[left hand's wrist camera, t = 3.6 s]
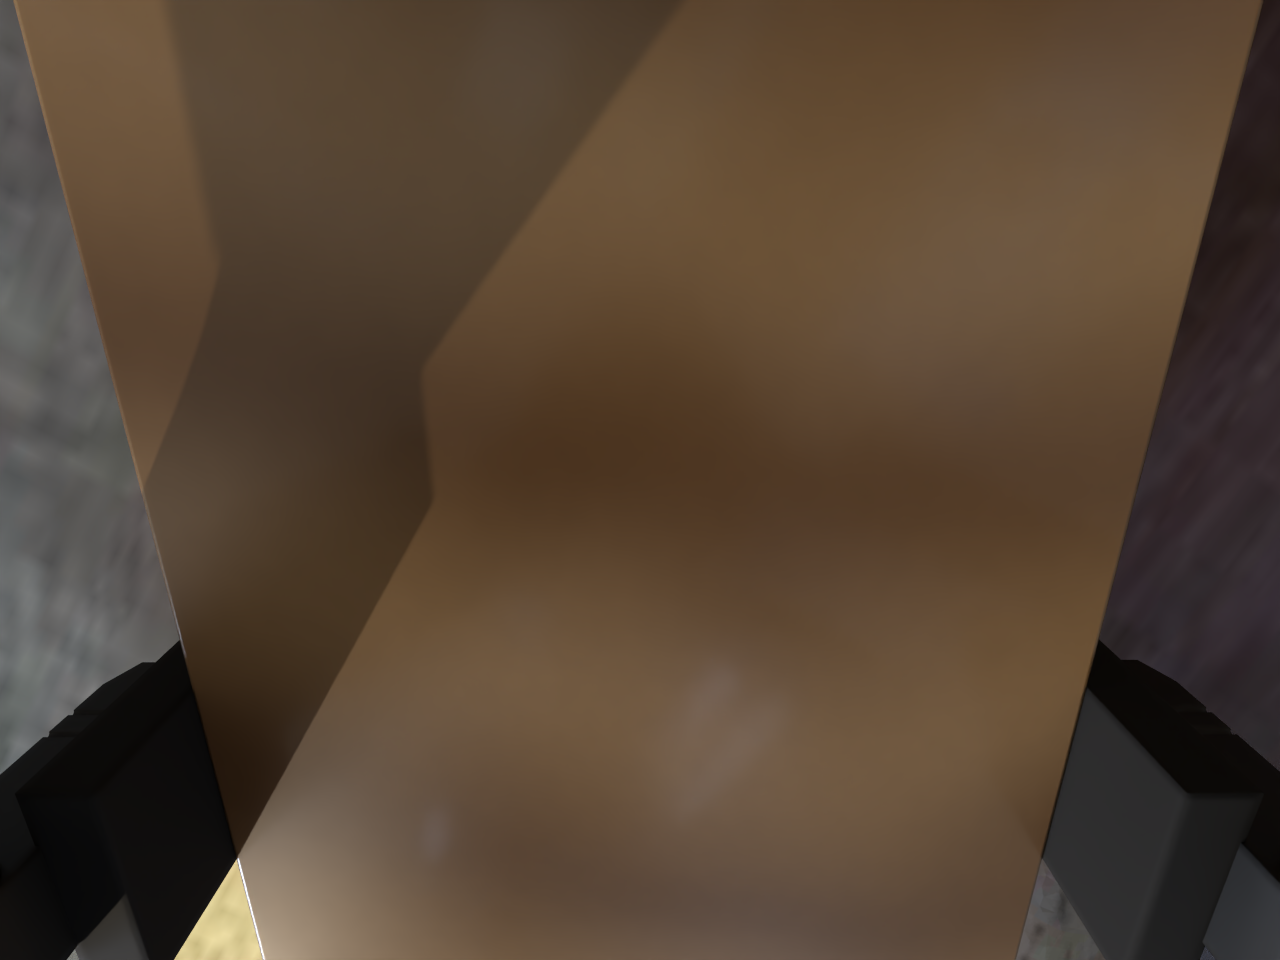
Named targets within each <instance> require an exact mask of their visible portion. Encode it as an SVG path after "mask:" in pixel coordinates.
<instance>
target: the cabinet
mask: <svg viewBox="0 0 1280 960" xmlns="http://www.w3.org/2000/svg"><path fill="white" fill-rule="evenodd" d="M13 1H14V4H15V8H16V12H17V16H18V20H19V24H20V28H21V31H22V35H23V39H24V43H25V47H26V51H27V54H28V58H29V62H30V66H31V70H32V74H33V78H34V81H35V85H36V89H37V93H38V97H39V101H40V104H41V108H42V112H43V116H44V120H45V124H46V128H47V131H48V135H49V139H50V143H51V147H52V151H53V154H54V158H55V162H56V166H57V170H58V174H59V177H60V181H61V185H62V189H63V193H64V197H65V201H66V204H67V208H68V212H69V216H70V220H71V224H72V227H73V231H74V235H75V239H76V243H77V247H78V251H79V254H80V258H81V262H82V266H83V270H84V274H85V277H86V281H87V285H88V289H89V293H90V297H91V301H92V304H93V308H94V312H95V316H96V320H97V324H98V327H99V331H100V335H101V339H102V343H103V347H104V351H105V354H106V358H107V362H108V366H109V370H110V374H111V377H112V381H113V385H114V389H115V393H116V397H117V401H118V404H119V408H120V412H121V416H122V420H123V424H124V427H125V431H126V435H127V439H128V443H129V447H130V451H131V454H132V458H133V462H134V466H135V470H136V474H137V477H138V481H139V485H140V489H141V493H142V497H143V500H144V504H145V508H146V512H147V516H148V520H149V524H150V527H151V531H152V535H153V539H154V543H155V547H156V550H157V554H158V558H159V562H160V566H161V570H162V574H163V577H164V581H165V585H166V589H167V593H168V597H169V600H170V604H171V608H172V612H173V616H174V620H175V624H176V627H177V631H178V635H179V639H180V643H181V647H182V650H183V654H184V658H185V662H186V666H187V670H188V674H189V677H190V681H191V685H192V689H193V693H194V697H195V700H196V704H197V708H198V712H199V716H200V720H201V724H202V727H203V731H204V735H205V739H206V743H207V747H208V750H209V754H210V758H211V762H212V766H213V770H214V774H215V777H216V781H217V785H218V789H219V793H220V797H221V800H222V804H223V808H224V812H225V816H226V820H227V824H228V827H229V831H230V835H231V839H232V843H233V847H234V850H235V854H236V858H237V862H238V866H239V870H240V873H241V877H242V881H243V885H244V889H245V893H246V897H247V900H248V904H249V908H250V912H251V916H252V920H253V923H254V927H255V931H256V935H257V939H258V943H259V947H260V950H261V954H262V958H263V960H1016V957H1017V954H1018V950H1019V946H1020V942H1021V938H1022V934H1023V930H1024V926H1025V923H1026V919H1027V915H1028V911H1029V907H1030V903H1031V899H1032V895H1033V892H1034V888H1035V884H1036V880H1037V876H1038V872H1039V868H1040V864H1041V861H1042V857H1043V853H1044V849H1045V845H1046V841H1047V837H1048V834H1049V830H1050V826H1051V822H1052V818H1053V814H1054V810H1055V806H1056V803H1057V799H1058V795H1059V791H1060V787H1061V783H1062V779H1063V775H1064V772H1065V768H1066V764H1067V760H1068V756H1069V752H1070V748H1071V744H1072V741H1073V737H1074V733H1075V729H1076V725H1077V721H1078V717H1079V713H1080V710H1081V706H1082V702H1083V698H1084V694H1085V690H1086V686H1087V683H1088V679H1089V675H1090V671H1091V667H1092V663H1093V659H1094V655H1095V652H1096V648H1097V644H1098V640H1099V636H1100V632H1101V628H1102V624H1103V621H1104V617H1105V613H1106V609H1107V605H1108V601H1109V597H1110V593H1111V590H1112V586H1113V582H1114V578H1115V574H1116V570H1117V566H1118V562H1119V559H1120V555H1121V551H1122V547H1123V543H1124V539H1125V535H1126V531H1127V528H1128V524H1129V520H1130V516H1131V512H1132V508H1133V504H1134V501H1135V497H1136V493H1137V489H1138V485H1139V481H1140V477H1141V473H1142V470H1143V466H1144V462H1145V458H1146V454H1147V450H1148V446H1149V442H1150V439H1151V435H1152V431H1153V427H1154V423H1155V419H1156V415H1157V411H1158V408H1159V404H1160V400H1161V396H1162V392H1163V388H1164V384H1165V380H1166V377H1167V373H1168V369H1169V365H1170V361H1171V357H1172V353H1173V349H1174V346H1175V342H1176V338H1177V334H1178V330H1179V326H1180V322H1181V319H1182V315H1183V311H1184V307H1185V303H1186V299H1187V295H1188V291H1189V288H1190V284H1191V280H1192V276H1193V272H1194V268H1195V264H1196V260H1197V257H1198V253H1199V249H1200V245H1201V241H1202V237H1203V233H1204V229H1205V226H1206V222H1207V218H1208V214H1209V210H1210V206H1211V202H1212V198H1213V195H1214V191H1215V187H1216V183H1217V179H1218V175H1219V171H1220V168H1221V164H1222V160H1223V156H1224V152H1225V148H1226V144H1227V140H1228V137H1229V133H1230V129H1231V125H1232V121H1233V117H1234V113H1235V109H1236V106H1237V102H1238V98H1239V94H1240V90H1241V86H1242V82H1243V78H1244V75H1245V71H1246V67H1247V63H1248V59H1249V55H1250V51H1251V47H1252V44H1253V40H1254V36H1255V32H1256V28H1257V24H1258V20H1259V16H1260V13H1261V9H1262V5H1263V1H1264V0H13Z"/></svg>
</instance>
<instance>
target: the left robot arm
mask: <svg viewBox="0 0 1280 960" xmlns="http://www.w3.org/2000/svg"><path fill="white" fill-rule="evenodd" d="M49 733H50V734H49V736H48V737H43V738H42V739H41V740H39V741H38V742H37V743H36V744H35V745H34V746H33V747H31V748H30V749H29V750H28V751H27V752H26V753H25V754H23V755H22V756H21V757H20V758H19V759H18V760H17V761H16V762H14V763H13V764H12V765H11V766H10V767H9V768H8V769H6V770H5V771H4V772H3V773H2V774H1V775H0V960H67V958H68V957H69V956H70V955H71V953H72V952H73V951H74V949H75V950H76V953H77V955H78V958H79V960H174V959H175V957H176V955H177V954H178V952H179V951H180V949H181V947H182V946H183V944H184V943H185V941H186V939H187V938H188V936H189V935H190V933H191V931H192V930H193V928H194V927H195V925H196V923H197V922H198V920H199V919H200V917H201V915H202V914H203V912H204V911H205V909H206V907H207V906H208V904H209V902H210V901H211V899H212V898H213V896H214V894H215V893H216V891H217V890H218V888H219V886H220V885H221V883H222V882H223V880H224V878H225V877H226V875H227V874H228V872H229V870H230V869H231V867H232V866H233V864H234V862H235V861H236V859H237V858H236V854H235V850H234V847H233V843H232V839H231V835H230V831H229V827H228V824H227V820H226V816H225V812H224V808H223V804H222V800H221V797H220V793H219V789H218V785H217V781H216V777H215V774H214V770H213V766H212V762H211V758H210V754H209V750H208V747H207V743H206V739H205V735H204V731H203V727H202V724H201V720H200V716H199V712H198V708H197V704H196V700H195V697H194V693H193V689H192V685H191V681H190V677H189V674H188V670H187V666H186V662H185V658H184V654H183V650H182V647H181V643H180V640H179V641H178V642H177V643H176V644H175V645H174V646H173V647H172V648H171V649H170V650H168V651H167V652H166V653H165V654H164V655H163V656H162V657H161V658H160V659H159V660H158V661H157V662H142V663H140V664H139V665H137V666H135V667H133V668H132V669H130V670H128V671H126V672H124V673H123V674H121V675H119V676H117V677H115V678H114V679H112V680H110V681H108V682H107V683H105V684H103V685H102V686H101V687H100V688H98V689H97V690H96V691H95V692H94V693H93V694H92V695H91V696H89V697H88V698H87V699H86V700H85V701H84V702H83V703H81V704H80V705H79V706H78V707H77V708H76V709H75V710H74V714H73V715H68V716H67V717H66V718H64V719H63V720H62V721H61V722H60V723H59V724H58V725H56V726H55V727H54V728H53V729H52V730H51V731H50V732H49ZM1042 859H1043V860H1044V862H1045V864H1046V865H1047V867H1048V868H1049V870H1050V872H1051V873H1052V875H1053V876H1054V878H1055V880H1056V881H1057V883H1058V884H1059V886H1060V888H1061V889H1062V891H1063V892H1064V894H1065V896H1066V897H1067V899H1068V901H1069V902H1070V904H1071V905H1072V907H1073V909H1074V910H1075V912H1076V913H1077V915H1078V917H1079V918H1080V920H1081V921H1082V923H1083V925H1084V926H1085V928H1086V929H1087V931H1088V933H1089V934H1090V936H1091V937H1092V939H1093V941H1094V942H1095V944H1096V945H1097V947H1098V949H1099V950H1100V952H1101V953H1102V955H1103V957H1104V958H1105V960H1200V958H1201V955H1202V952H1203V950H1204V947H1205V946H1206V948H1207V949H1208V950H1209V952H1210V953H1211V954H1212V955H1213V957H1214V958H1215V959H1216V960H1280V772H1279V771H1278V770H1277V769H1276V768H1275V767H1274V766H1272V765H1271V764H1270V763H1269V762H1268V761H1267V760H1266V759H1264V758H1263V757H1262V756H1261V755H1260V754H1259V753H1258V752H1256V751H1255V750H1254V749H1253V748H1252V747H1251V746H1250V745H1248V744H1247V743H1246V742H1245V741H1244V740H1243V739H1242V738H1240V737H1239V736H1238V735H1237V734H1231V731H1230V728H1229V727H1228V726H1227V725H1226V724H1224V723H1223V722H1222V721H1221V720H1220V719H1219V718H1218V717H1216V716H1215V715H1214V714H1213V713H1212V712H1206V707H1205V706H1204V705H1203V704H1201V703H1200V702H1199V701H1198V700H1197V699H1196V698H1195V697H1193V696H1192V695H1191V694H1190V693H1189V692H1188V691H1187V690H1185V689H1184V688H1183V687H1182V686H1181V685H1180V684H1179V683H1177V682H1176V681H1174V680H1173V679H1171V678H1169V677H1167V676H1165V675H1164V674H1162V673H1160V672H1158V671H1156V670H1155V669H1153V668H1151V667H1149V666H1147V665H1146V664H1144V663H1142V662H1140V661H1138V660H1120V659H1119V658H1118V657H1117V656H1116V655H1115V654H1114V653H1113V652H1112V651H1111V650H1110V649H1109V648H1107V647H1106V646H1105V645H1104V644H1103V643H1102V642H1101V641H1100V640H1098V644H1097V648H1096V652H1095V655H1094V659H1093V663H1092V667H1091V671H1090V675H1089V679H1088V683H1087V686H1086V690H1085V694H1084V698H1083V702H1082V706H1081V710H1080V713H1079V717H1078V721H1077V725H1076V729H1075V733H1074V737H1073V741H1072V744H1071V748H1070V752H1069V756H1068V760H1067V764H1066V768H1065V772H1064V775H1063V779H1062V783H1061V787H1060V791H1059V795H1058V799H1057V803H1056V806H1055V810H1054V814H1053V818H1052V822H1051V826H1050V830H1049V834H1048V837H1047V841H1046V845H1045V849H1044V853H1043V857H1042Z"/></svg>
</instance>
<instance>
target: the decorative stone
mask: <svg viewBox="0 0 1280 960" xmlns="http://www.w3.org/2000/svg"><path fill="white" fill-rule="evenodd" d="M1016 960H1105V958H1104V957H1103V955H1102V953H1101V952H1100V950H1099V949H1098V947H1097V945H1096V944H1095V942H1094V941H1093V939H1092V937H1091V936H1090V934H1089V933H1088V931H1087V929H1086V928H1085V926H1084V925H1083V923H1082V921H1081V920H1080V918H1079V917H1078V915H1077V913H1076V912H1075V910H1074V909H1073V907H1072V905H1071V904H1070V902H1069V901H1068V899H1067V897H1066V896H1065V894H1064V892H1063V891H1062V889H1061V888H1060V886H1059V884H1058V883H1057V881H1056V880H1055V878H1054V876H1053V875H1052V873H1051V872H1050V870H1049V868H1048V867H1047V865H1046V864H1045V862H1044V860H1043V859H1042V861H1041V864H1040V868H1039V872H1038V876H1037V880H1036V884H1035V888H1034V892H1033V895H1032V899H1031V903H1030V907H1029V911H1028V915H1027V919H1026V923H1025V926H1024V930H1023V934H1022V938H1021V942H1020V946H1019V950H1018V954H1017V957H1016Z"/></svg>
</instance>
